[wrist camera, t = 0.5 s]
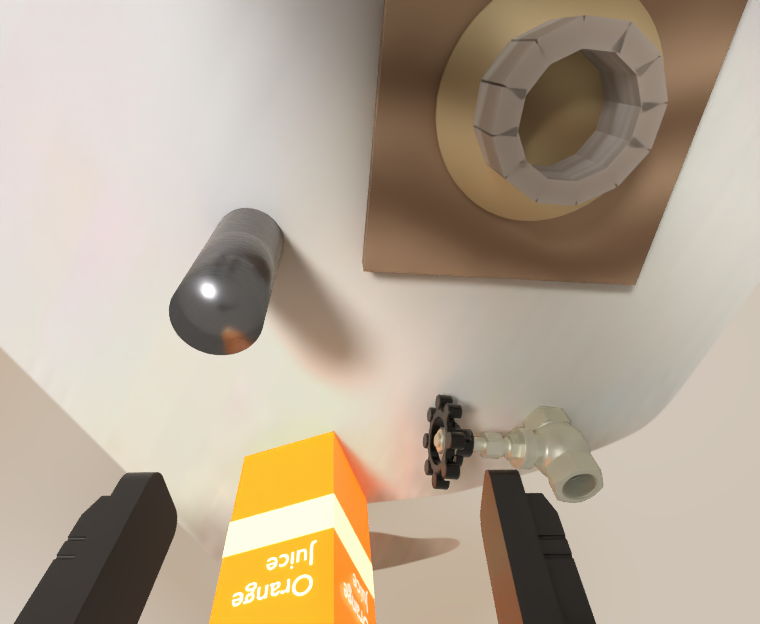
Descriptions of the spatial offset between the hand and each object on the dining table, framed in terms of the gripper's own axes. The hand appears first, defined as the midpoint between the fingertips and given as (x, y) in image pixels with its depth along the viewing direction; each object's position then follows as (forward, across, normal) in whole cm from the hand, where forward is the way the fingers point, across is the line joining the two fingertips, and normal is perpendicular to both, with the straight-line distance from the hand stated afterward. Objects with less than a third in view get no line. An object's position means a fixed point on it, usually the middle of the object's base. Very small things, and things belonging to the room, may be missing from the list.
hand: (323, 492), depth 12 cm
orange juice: (+19, +6, +22) cm, 30 cm away
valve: (+21, -10, +18) cm, 29 cm away
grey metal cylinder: (+19, +7, +1) cm, 20 cm away
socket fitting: (+21, -10, -6) cm, 24 cm away
